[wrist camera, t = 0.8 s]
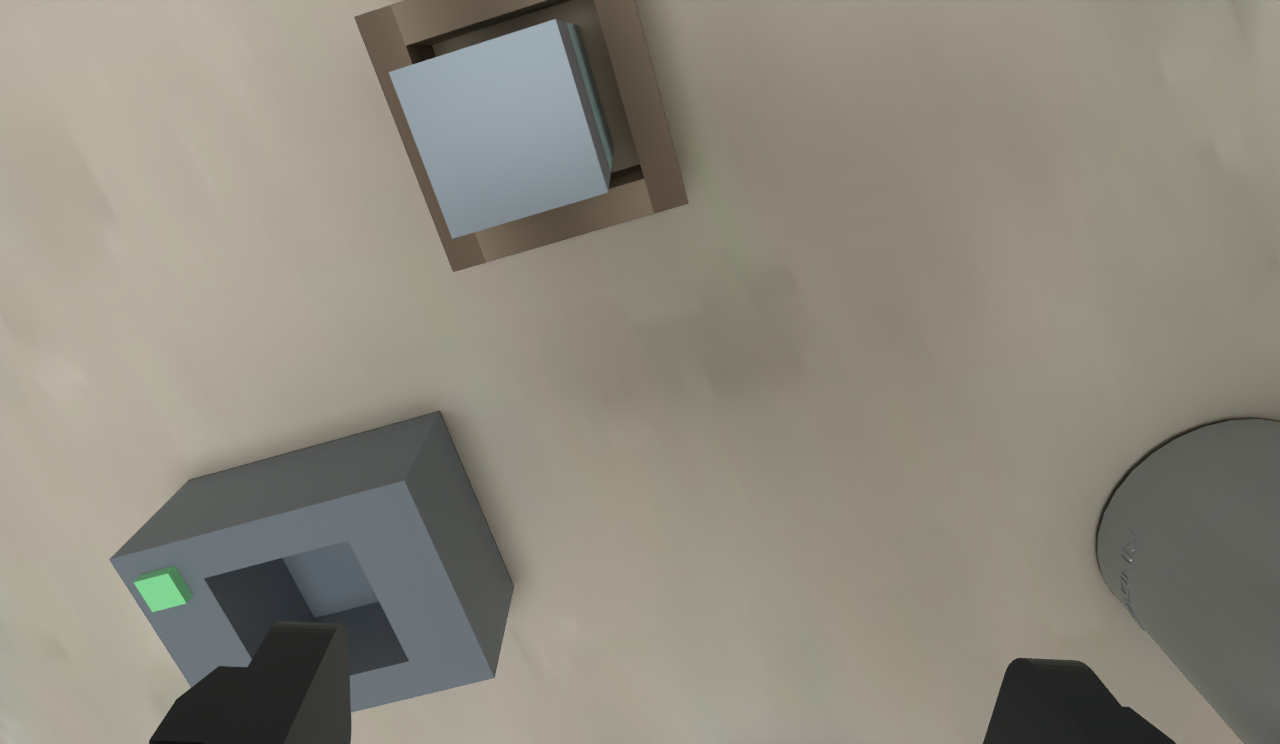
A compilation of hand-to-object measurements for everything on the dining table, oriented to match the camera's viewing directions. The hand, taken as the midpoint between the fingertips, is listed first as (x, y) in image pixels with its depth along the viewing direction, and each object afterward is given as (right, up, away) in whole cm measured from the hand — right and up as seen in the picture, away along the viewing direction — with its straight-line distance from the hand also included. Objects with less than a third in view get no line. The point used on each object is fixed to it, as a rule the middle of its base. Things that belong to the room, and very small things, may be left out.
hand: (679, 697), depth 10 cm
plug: (-4, +12, +15) cm, 19 cm away
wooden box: (-4, +12, +16) cm, 20 cm away
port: (-11, -2, +22) cm, 25 cm away
